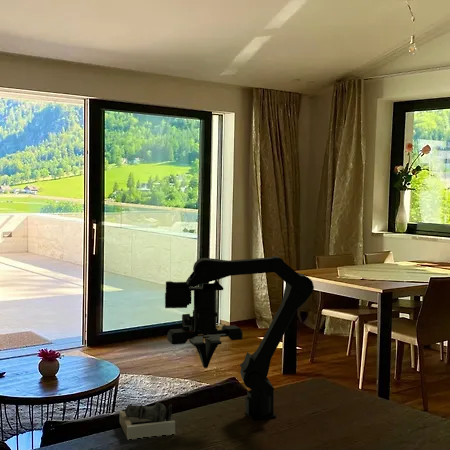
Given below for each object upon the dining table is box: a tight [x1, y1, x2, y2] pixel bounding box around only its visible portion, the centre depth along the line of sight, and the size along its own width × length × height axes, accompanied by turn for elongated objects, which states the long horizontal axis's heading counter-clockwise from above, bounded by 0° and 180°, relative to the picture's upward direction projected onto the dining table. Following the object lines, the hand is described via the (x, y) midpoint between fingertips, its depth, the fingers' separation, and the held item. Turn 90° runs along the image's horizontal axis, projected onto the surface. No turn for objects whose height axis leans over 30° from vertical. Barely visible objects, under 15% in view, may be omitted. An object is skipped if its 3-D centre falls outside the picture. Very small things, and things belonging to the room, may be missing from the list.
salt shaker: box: [121, 401, 173, 423], centre depth 163 cm, size 6×6×12 cm
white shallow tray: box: [119, 410, 176, 441], centre depth 162 cm, size 11×12×3 cm
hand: (205, 367), depth 169 cm, fingers closed
